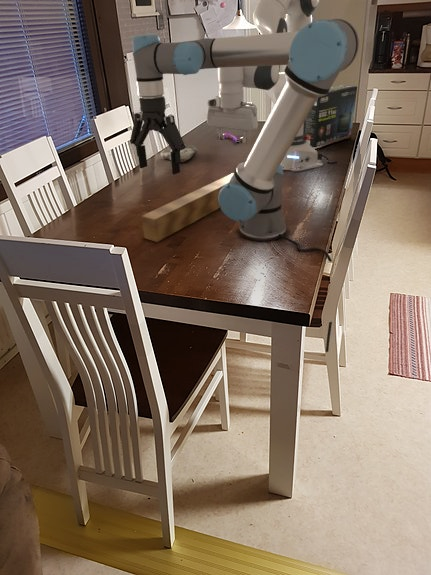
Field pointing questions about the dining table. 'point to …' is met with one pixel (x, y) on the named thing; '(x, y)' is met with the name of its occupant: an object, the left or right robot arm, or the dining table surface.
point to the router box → (331, 116)
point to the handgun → (233, 137)
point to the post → (183, 211)
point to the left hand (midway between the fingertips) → (159, 170)
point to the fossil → (181, 153)
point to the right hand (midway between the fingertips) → (232, 140)
